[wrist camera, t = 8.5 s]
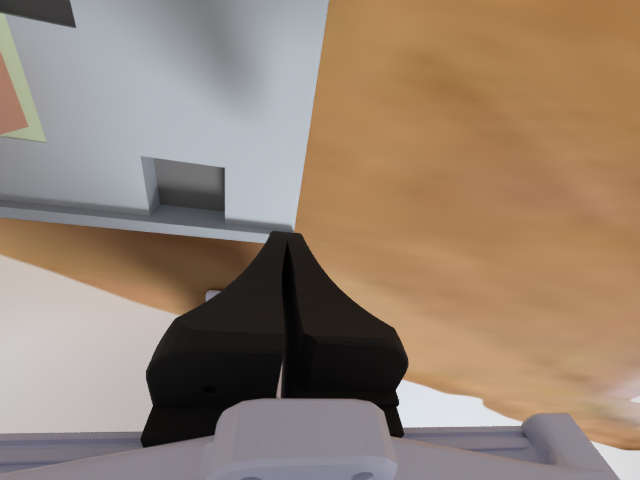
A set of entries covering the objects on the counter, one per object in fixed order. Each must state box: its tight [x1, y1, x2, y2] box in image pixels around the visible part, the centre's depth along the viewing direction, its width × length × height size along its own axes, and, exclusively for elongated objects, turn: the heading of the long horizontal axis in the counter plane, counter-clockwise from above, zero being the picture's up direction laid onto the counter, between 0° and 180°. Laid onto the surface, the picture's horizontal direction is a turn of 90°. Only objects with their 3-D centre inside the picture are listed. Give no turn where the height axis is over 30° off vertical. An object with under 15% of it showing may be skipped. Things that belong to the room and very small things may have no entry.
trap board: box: [0, 0, 329, 243], centre depth 16 cm, size 16×22×3 cm
